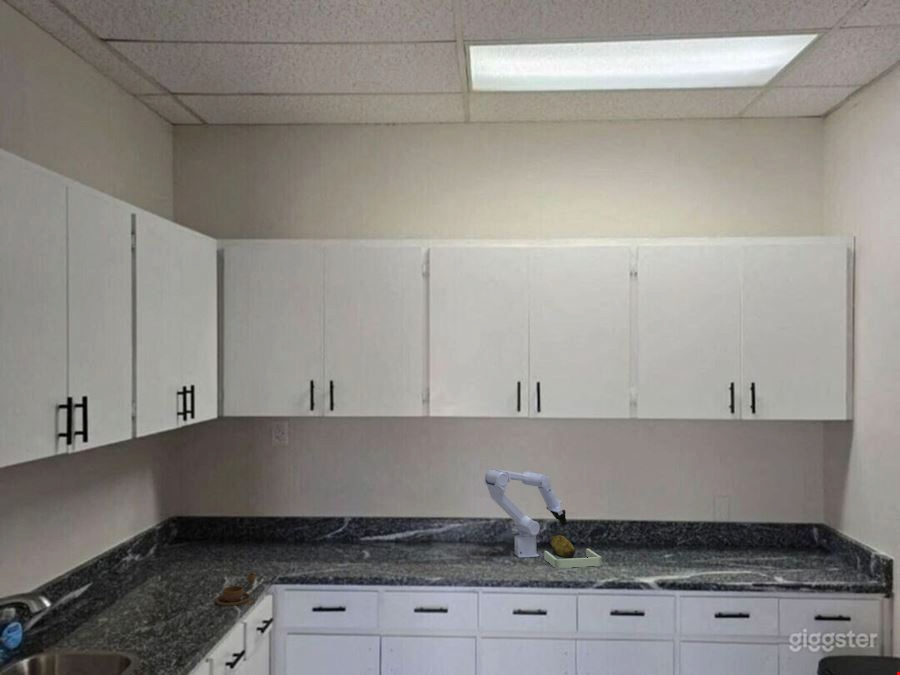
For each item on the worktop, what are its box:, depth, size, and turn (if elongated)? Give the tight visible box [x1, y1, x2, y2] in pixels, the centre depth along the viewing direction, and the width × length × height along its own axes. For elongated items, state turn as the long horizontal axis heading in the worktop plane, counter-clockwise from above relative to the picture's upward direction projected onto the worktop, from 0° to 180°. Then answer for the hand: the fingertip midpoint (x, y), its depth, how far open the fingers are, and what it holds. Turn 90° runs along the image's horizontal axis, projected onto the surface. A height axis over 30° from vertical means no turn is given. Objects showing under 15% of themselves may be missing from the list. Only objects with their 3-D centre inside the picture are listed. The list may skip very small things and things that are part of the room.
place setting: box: [215, 572, 256, 608], centre depth 253 cm, size 18×20×6 cm
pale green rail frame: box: [543, 548, 603, 570], centre depth 297 cm, size 20×15×4 cm
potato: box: [550, 534, 576, 558], centre depth 309 cm, size 8×13×8 cm, turn 11°
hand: (561, 521), depth 320 cm, fingers open, 7 cm apart
